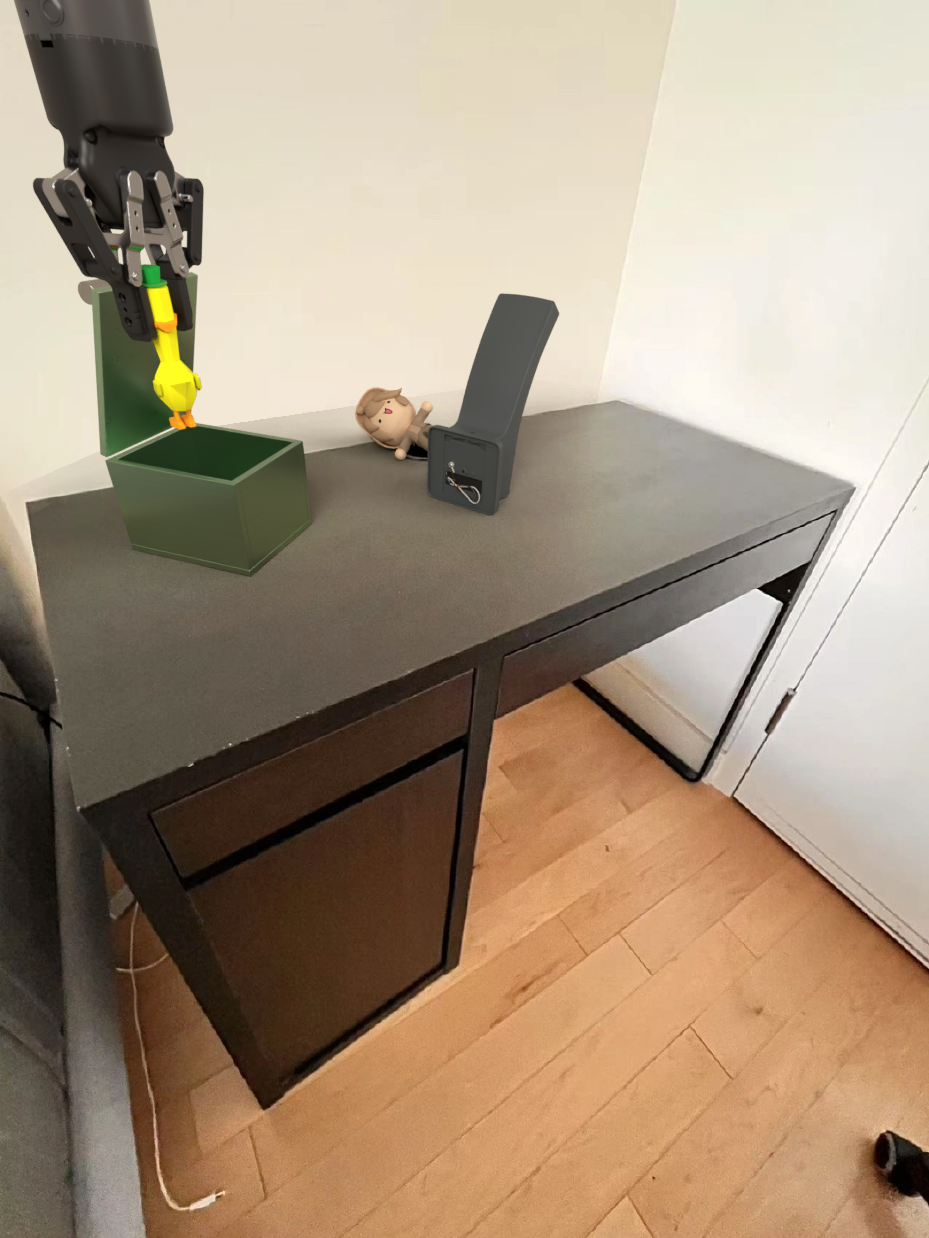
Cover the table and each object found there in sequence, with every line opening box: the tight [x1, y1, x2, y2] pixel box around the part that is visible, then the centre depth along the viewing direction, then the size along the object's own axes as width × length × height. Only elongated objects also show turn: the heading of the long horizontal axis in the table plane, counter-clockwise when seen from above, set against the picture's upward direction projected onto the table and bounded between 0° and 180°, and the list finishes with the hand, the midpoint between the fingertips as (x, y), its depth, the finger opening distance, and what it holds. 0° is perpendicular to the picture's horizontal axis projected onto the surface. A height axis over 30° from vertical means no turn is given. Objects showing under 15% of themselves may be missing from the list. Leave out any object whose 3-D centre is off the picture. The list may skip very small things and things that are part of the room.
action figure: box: [354, 386, 434, 461], centre depth 97 cm, size 10×11×15 cm
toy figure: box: [140, 263, 203, 430], centre depth 49 cm, size 7×4×12 cm, turn 41°
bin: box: [104, 422, 313, 577], centre depth 71 cm, size 16×14×11 cm
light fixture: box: [426, 293, 560, 516], centre depth 83 cm, size 11×17×24 cm, turn 149°
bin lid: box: [77, 271, 199, 458], centre depth 64 cm, size 17×14×6 cm
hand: (162, 333), depth 48 cm, fingers closed on toy figure, 3 cm apart
